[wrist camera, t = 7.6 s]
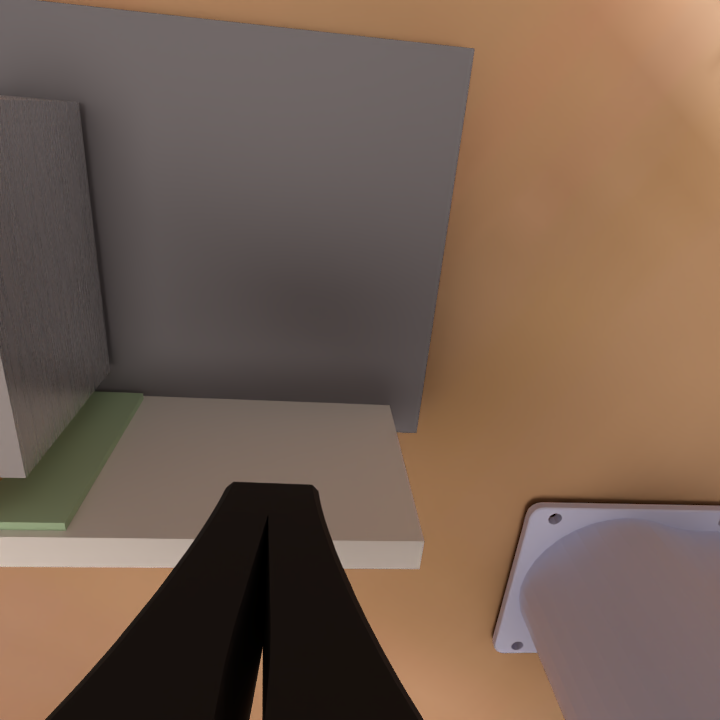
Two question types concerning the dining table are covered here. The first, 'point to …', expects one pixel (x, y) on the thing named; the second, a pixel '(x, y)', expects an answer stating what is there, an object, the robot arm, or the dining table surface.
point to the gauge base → (242, 275)
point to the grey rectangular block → (45, 280)
